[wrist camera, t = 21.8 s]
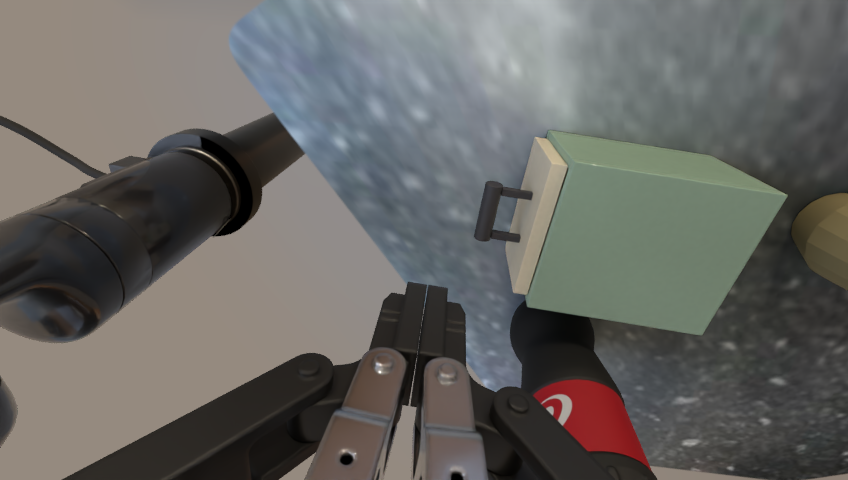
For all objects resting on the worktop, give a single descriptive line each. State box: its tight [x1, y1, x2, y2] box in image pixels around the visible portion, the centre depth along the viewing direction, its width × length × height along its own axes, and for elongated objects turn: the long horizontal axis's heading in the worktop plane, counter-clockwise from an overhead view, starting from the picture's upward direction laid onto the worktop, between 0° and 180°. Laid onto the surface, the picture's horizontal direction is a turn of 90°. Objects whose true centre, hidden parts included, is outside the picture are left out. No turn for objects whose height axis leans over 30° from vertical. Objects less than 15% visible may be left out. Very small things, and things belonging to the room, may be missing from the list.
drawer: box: [474, 137, 569, 295], centre depth 34 cm, size 17×11×8 cm, turn 82°
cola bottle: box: [510, 300, 657, 480], centre depth 32 cm, size 8×8×30 cm
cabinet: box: [525, 130, 788, 336], centre depth 34 cm, size 15×13×10 cm
